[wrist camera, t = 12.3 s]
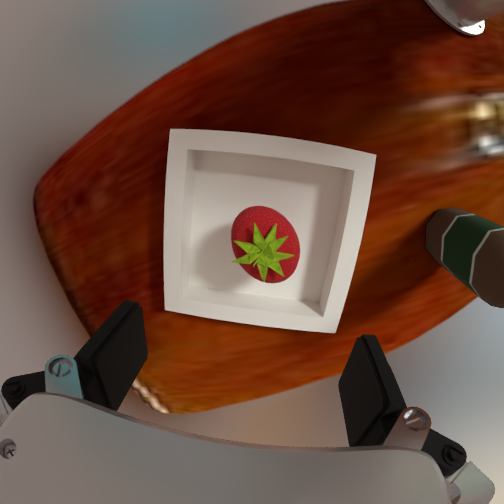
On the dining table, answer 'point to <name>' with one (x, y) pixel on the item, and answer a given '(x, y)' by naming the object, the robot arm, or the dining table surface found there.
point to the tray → (269, 195)
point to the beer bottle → (469, 251)
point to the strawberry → (265, 244)
